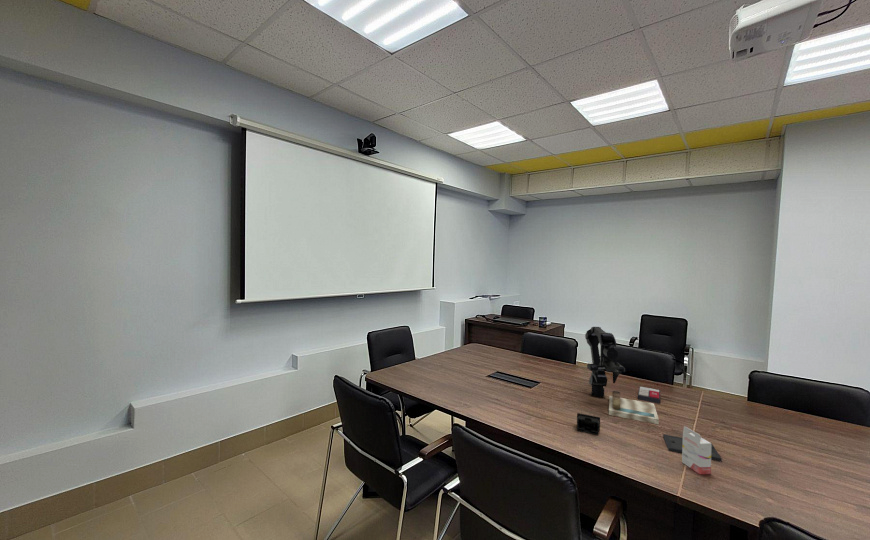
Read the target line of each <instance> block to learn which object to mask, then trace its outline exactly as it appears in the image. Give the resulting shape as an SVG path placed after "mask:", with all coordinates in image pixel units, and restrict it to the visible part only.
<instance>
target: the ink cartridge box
mask: <svg viewBox="0 0 870 540" xmlns="http://www.w3.org/2000/svg"><path fill="white" fill-rule="evenodd" d="M682 438H683V444H682V453H681V462H682V464H684V465H686V466H687V467H688V468H690V469H691V470H692V471H694V472H695V473H697V474H698V475H712V474H711V473H712V460H711V445H712V444H713V443H712V442H710V441H708V440H706V439H705V438H702V436H701V434H700V433H698V432H696V431H694V430H692V429H691V428H689V427H687V426H686V425H684V426H683V431H682Z"/></svg>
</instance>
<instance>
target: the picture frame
mask: <svg viewBox="0 0 870 540" xmlns="http://www.w3.org/2000/svg"><path fill="white" fill-rule="evenodd" d="M662 438H663V440H664V442H665V445H666V448H667V450H668V452H672V453H673V452H674V453H678V454H682V444H683V437H681V436H676V435H675V436H674V435H670V434H664V433H663V434H662ZM715 460H716V462H720V461H721V462H723V461H722V460H723V459H722V456H720V454H719V453H718V451H717V450H716V447H715V446H714V445H713V443H712V445H711V461H715ZM721 462H720V463H721Z"/></svg>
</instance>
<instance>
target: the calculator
mask: <svg viewBox="0 0 870 540" xmlns="http://www.w3.org/2000/svg"><path fill="white" fill-rule="evenodd" d="M637 400H638V401H643V402H648V403H654V404H658V405H659V404H661V390H660V389H655V388H650V387H645V386H638V392H637Z"/></svg>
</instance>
